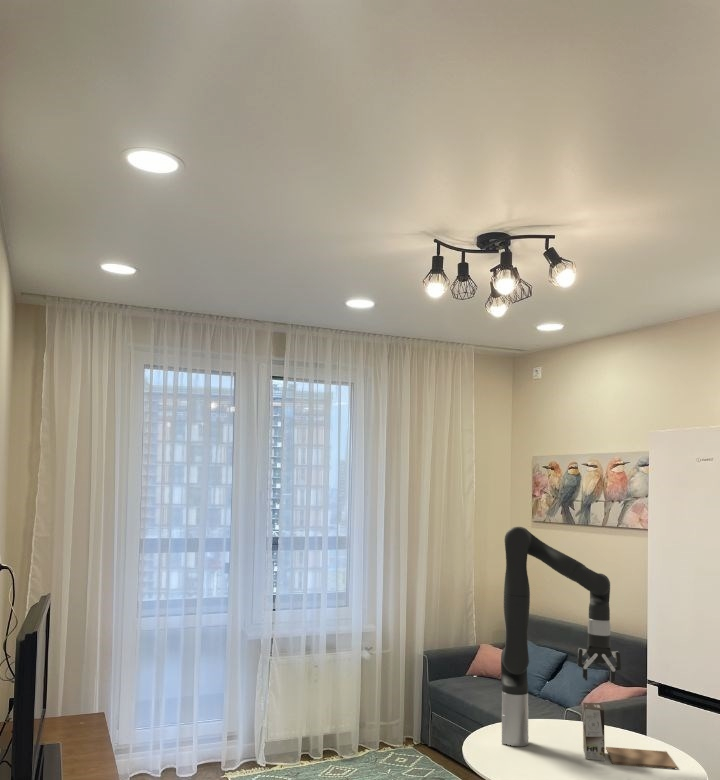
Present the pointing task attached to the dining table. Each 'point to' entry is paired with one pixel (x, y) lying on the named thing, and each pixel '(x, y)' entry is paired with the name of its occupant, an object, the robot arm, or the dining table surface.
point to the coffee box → (593, 731)
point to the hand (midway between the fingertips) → (598, 681)
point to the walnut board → (640, 757)
